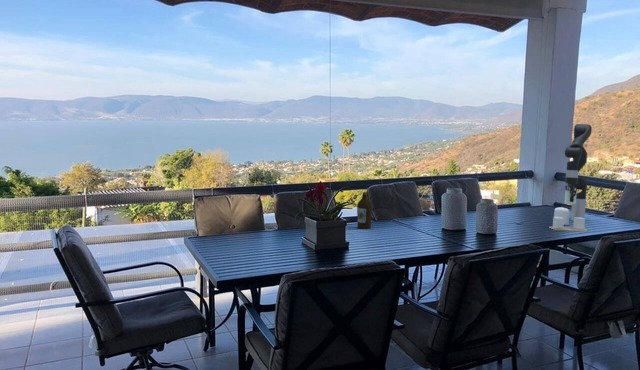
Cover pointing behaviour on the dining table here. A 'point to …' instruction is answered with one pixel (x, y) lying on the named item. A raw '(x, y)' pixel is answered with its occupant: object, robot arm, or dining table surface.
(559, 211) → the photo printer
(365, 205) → the olive oil
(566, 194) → the loose module
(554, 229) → the rail board
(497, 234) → the dining table surface
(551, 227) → the metal rail
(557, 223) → the mounted modules
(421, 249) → the dining table surface
